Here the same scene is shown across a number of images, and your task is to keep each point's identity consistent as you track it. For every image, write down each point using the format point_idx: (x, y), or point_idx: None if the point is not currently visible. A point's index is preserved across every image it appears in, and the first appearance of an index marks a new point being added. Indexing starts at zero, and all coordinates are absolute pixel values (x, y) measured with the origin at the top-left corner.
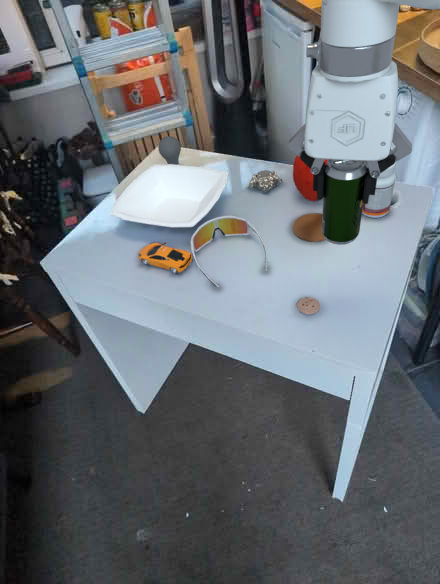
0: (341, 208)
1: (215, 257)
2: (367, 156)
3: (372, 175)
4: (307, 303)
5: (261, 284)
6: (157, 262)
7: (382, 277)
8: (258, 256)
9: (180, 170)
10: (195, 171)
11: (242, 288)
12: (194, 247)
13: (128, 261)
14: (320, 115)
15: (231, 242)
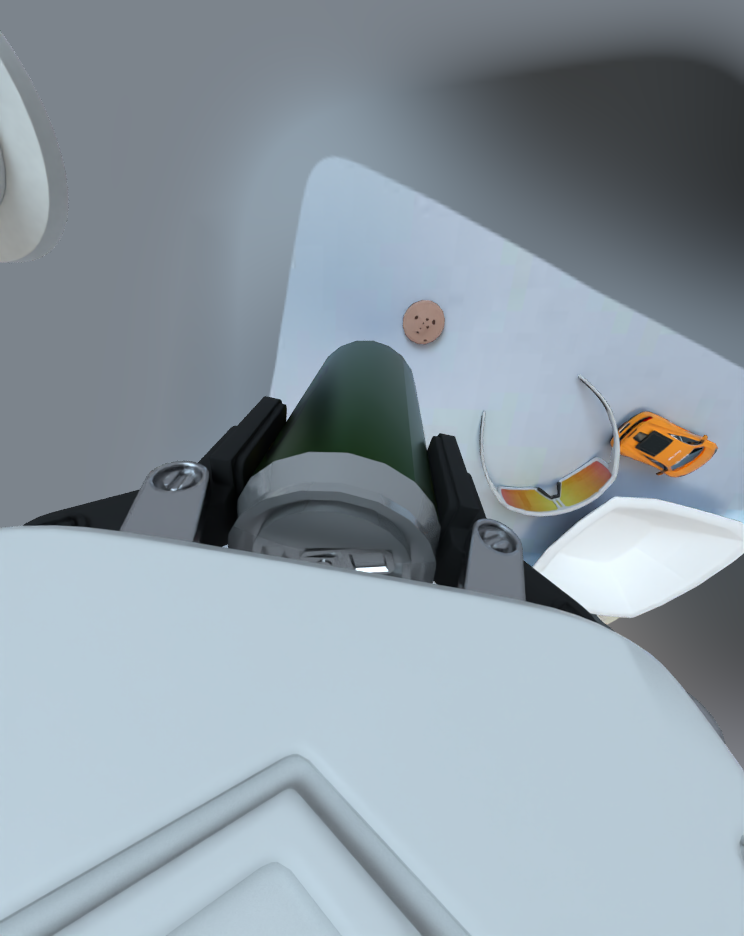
0: (365, 382)
1: (563, 445)
2: (87, 571)
3: (201, 475)
4: (426, 324)
5: (497, 381)
6: (687, 432)
7: (299, 391)
8: (489, 444)
9: (589, 604)
10: None
11: (533, 372)
12: (602, 463)
13: (727, 444)
14: None
15: (527, 474)
